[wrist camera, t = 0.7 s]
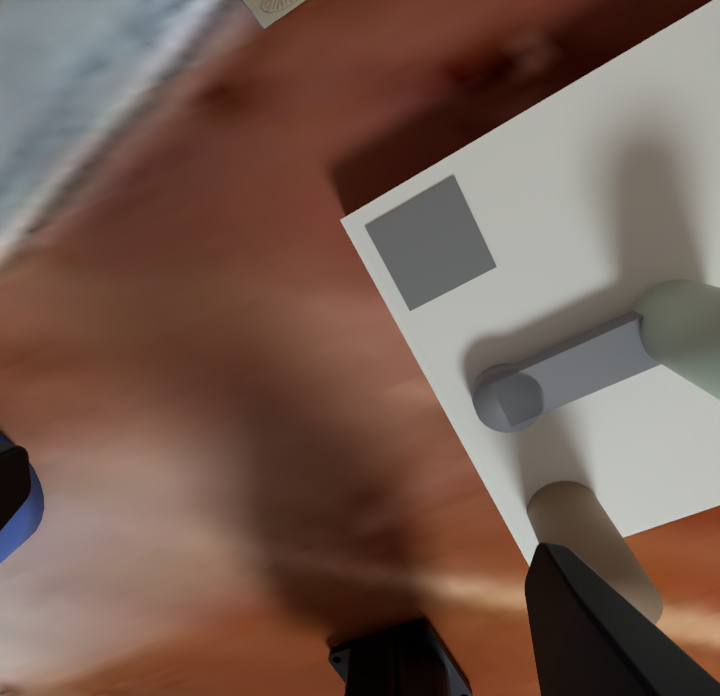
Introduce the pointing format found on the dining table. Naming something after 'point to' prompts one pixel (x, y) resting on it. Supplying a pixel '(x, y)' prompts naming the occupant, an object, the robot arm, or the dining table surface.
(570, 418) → the stool seat
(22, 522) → the water bottle
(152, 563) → the dining table surface
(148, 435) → the dining table surface
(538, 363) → the hinged leg
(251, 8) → the stack of blocks
